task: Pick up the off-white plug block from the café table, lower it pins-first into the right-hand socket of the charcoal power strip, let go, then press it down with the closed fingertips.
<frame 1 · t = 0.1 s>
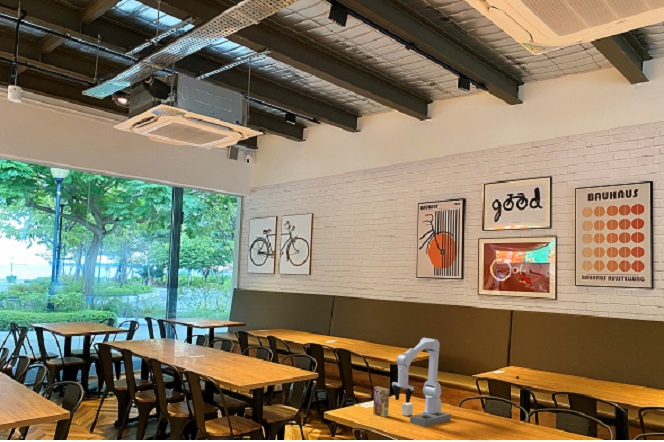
hand: (402, 401, 293), 10 cm above the table, tool pointing down, fingers open, 7 cm apart
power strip: (430, 421, 290), on the table
plug: (407, 415, 301), on the table
candy box: (380, 415, 299), on the table
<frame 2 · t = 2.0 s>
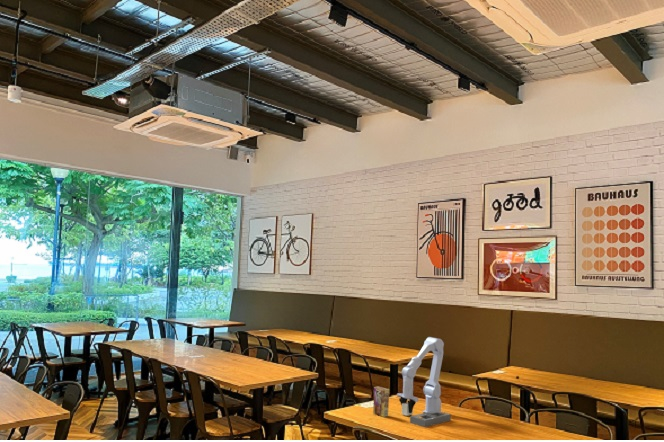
hand: (407, 411, 301), 2 cm above the table, tool pointing down, fingers closed on plug, 4 cm apart
plug: (407, 415, 301), on the table, touching gripper
everything else where it was.
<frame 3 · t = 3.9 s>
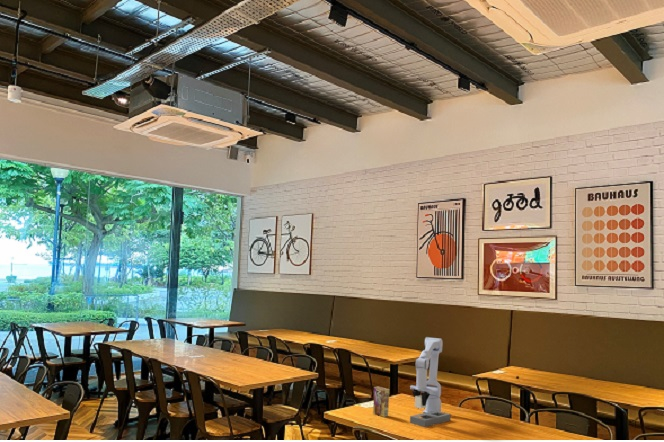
hand: (420, 404, 291), 9 cm above the table, tool pointing down, fingers closed on plug, 4 cm apart
plug: (420, 408, 291), point 7 cm above the table, touching gripper
everything else where it was.
when the fingers open (4 cm above the table, at t = 5.9 s): plug stays where it is, resting on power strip.
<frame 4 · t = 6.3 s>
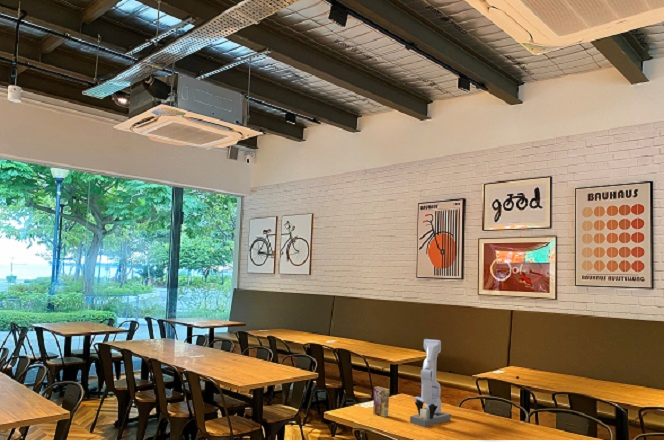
hand: (425, 416, 286), 4 cm above the table, tool pointing down, fingers open, 7 cm apart
plug: (425, 421, 286), point 1 cm above the table, touching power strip
everything else where it was.
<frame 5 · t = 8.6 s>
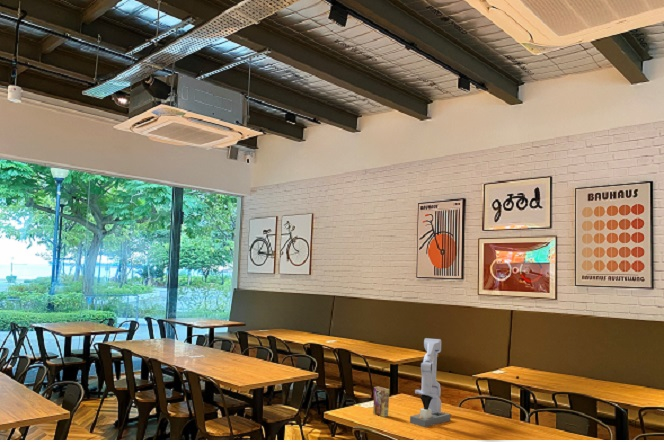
hand: (426, 409, 287), 8 cm above the table, tool pointing down, fingers closed, pressing on plug
plug: (425, 421, 286), point 1 cm above the table, touching gripper, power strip
everything else where it was.
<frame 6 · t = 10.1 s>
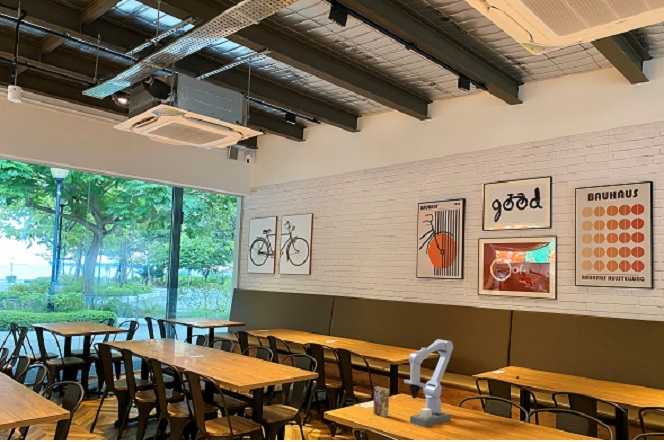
hand: (414, 398, 303), 10 cm above the table, tool pointing down, fingers closed
plug: (425, 421, 286), point 1 cm above the table, touching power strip
everything else where it was.
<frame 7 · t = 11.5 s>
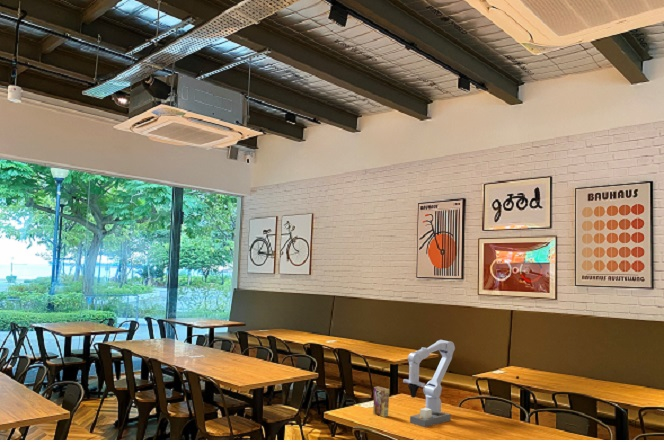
hand: (413, 397, 304), 10 cm above the table, tool pointing down, fingers closed
nothing on the table moved.
at the end: plug 0.1 cm from the target spot on the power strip, point 1.1 cm above the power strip's base; plug tilted 0°; the gripper is holding nothing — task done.
